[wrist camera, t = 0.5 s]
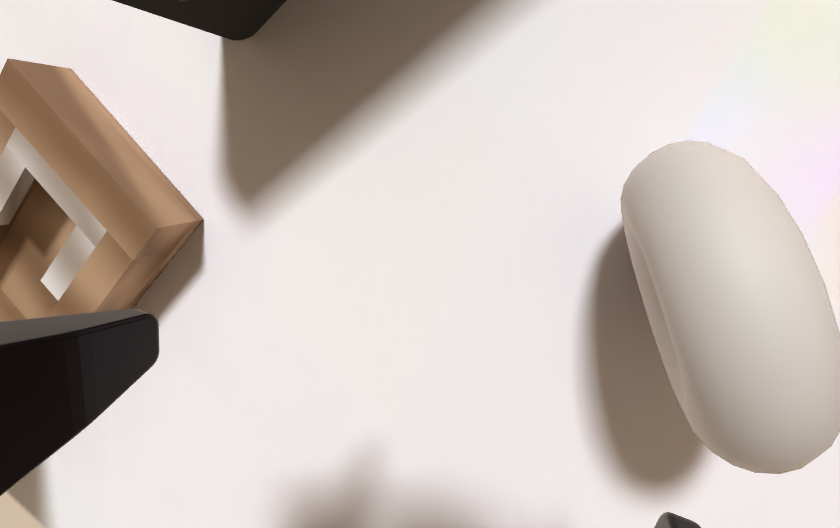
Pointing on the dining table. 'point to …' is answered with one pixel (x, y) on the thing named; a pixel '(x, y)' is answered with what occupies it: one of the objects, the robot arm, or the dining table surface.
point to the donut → (734, 307)
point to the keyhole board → (77, 201)
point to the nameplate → (213, 14)
